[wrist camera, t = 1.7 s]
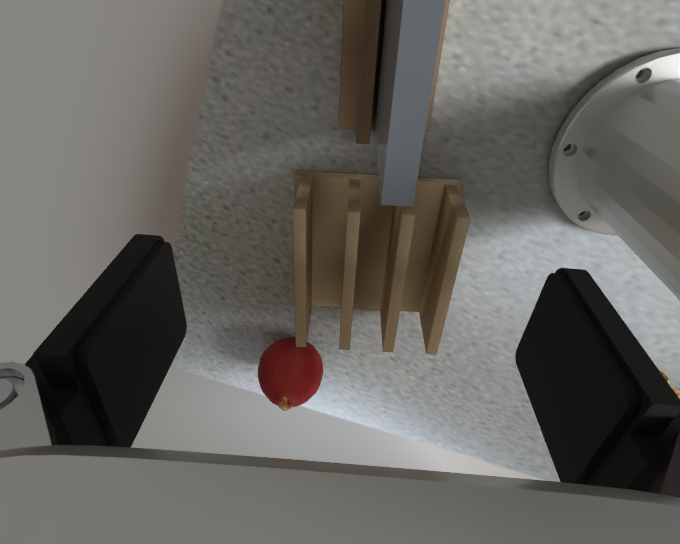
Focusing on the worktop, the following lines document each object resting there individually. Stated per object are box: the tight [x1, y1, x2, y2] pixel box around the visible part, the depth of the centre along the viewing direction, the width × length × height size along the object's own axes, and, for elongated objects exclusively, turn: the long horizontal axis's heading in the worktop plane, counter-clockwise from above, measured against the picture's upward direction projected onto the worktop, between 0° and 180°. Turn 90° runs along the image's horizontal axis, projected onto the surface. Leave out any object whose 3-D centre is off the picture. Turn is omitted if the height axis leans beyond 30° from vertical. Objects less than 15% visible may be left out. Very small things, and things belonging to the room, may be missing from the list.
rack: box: [293, 171, 470, 355], centre depth 33 cm, size 12×12×6 cm
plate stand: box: [339, 0, 450, 144], centre depth 24 cm, size 6×13×4 cm, turn 178°
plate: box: [374, 0, 446, 207], centre depth 20 cm, size 1×12×12 cm, turn 177°
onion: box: [258, 338, 323, 411], centre depth 39 cm, size 6×6×8 cm
